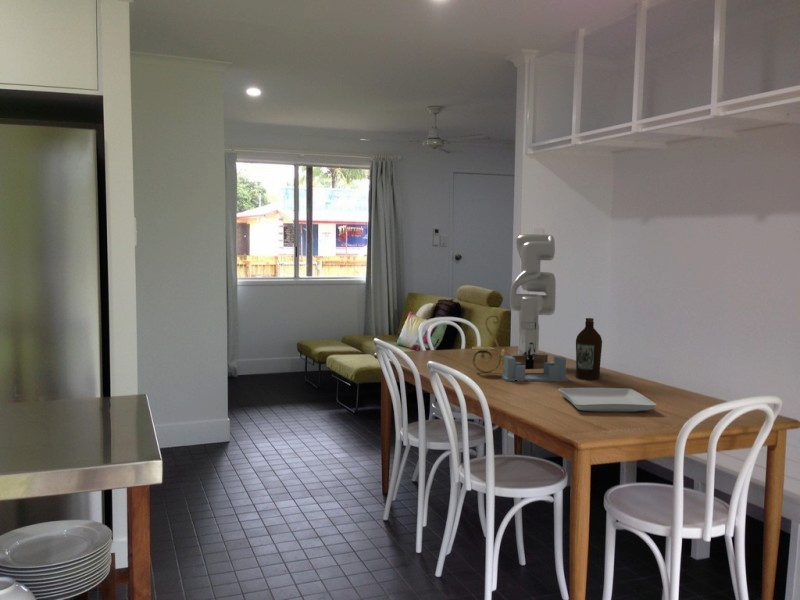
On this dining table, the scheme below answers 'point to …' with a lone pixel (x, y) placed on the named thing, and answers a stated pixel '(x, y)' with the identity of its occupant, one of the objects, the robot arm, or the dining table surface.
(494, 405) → the dining table surface
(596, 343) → the olive oil
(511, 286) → the robot arm
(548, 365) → the grey bracket base
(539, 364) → the rail
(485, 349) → the wall sconce
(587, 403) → the square plate
